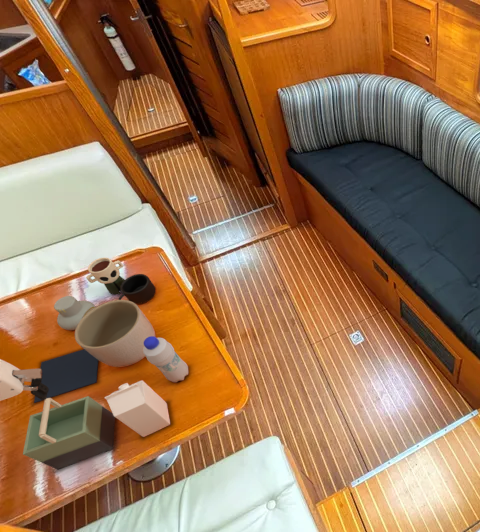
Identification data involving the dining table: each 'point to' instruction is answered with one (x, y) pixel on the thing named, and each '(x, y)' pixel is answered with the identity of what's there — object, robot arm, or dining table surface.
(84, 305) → the air freshener
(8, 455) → the dining table surface
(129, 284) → the mug
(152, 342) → the bottle
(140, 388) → the milk carton
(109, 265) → the character mug
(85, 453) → the box
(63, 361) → the mat
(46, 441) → the box
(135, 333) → the planter
